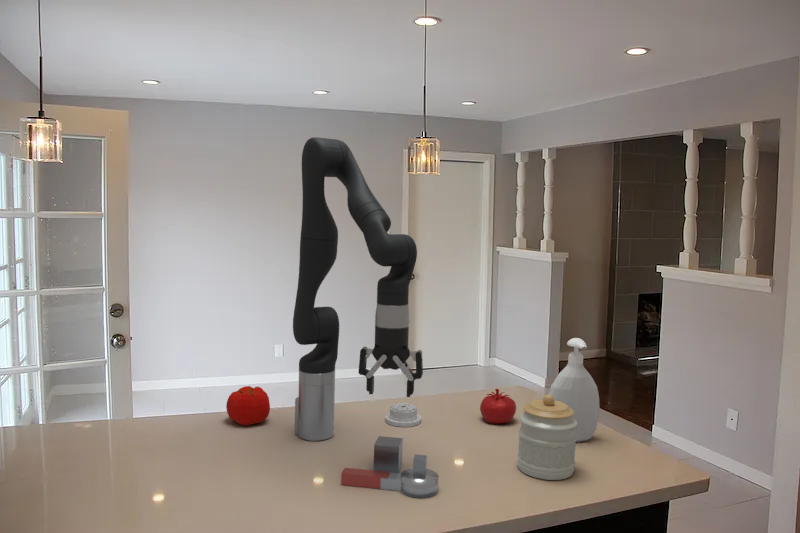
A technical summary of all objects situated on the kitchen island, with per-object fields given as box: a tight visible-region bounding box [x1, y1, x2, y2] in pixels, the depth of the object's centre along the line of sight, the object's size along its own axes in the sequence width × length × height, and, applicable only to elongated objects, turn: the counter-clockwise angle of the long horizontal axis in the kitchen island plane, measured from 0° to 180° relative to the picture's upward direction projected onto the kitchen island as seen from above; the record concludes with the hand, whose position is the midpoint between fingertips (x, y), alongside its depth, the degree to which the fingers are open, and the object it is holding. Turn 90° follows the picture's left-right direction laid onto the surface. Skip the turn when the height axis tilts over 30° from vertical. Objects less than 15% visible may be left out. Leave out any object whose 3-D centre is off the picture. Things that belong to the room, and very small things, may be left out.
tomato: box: [225, 385, 271, 426], centre depth 170 cm, size 11×12×9 cm
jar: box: [516, 393, 577, 481], centre depth 144 cm, size 13×13×18 cm
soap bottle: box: [548, 337, 601, 443], centre depth 163 cm, size 14×8×27 cm, turn 99°
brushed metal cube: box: [373, 435, 404, 473], centre depth 143 cm, size 6×6×6 cm
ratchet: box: [340, 453, 440, 499], centre depth 133 cm, size 20×8×7 cm, turn 81°
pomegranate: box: [479, 388, 517, 425], centre depth 177 cm, size 10×10×9 cm
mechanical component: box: [384, 402, 422, 428], centre depth 175 cm, size 10×4×10 cm
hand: (390, 394), depth 142 cm, fingers open, 8 cm apart
